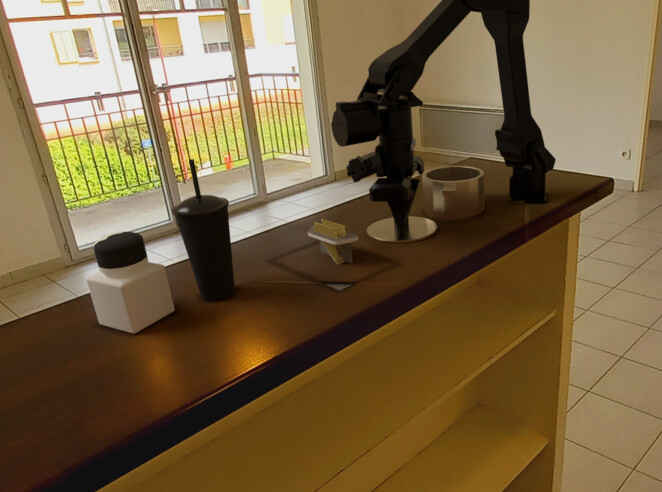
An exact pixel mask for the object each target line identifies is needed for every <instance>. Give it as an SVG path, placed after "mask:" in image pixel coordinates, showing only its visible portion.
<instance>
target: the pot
mask: <svg viewBox="0 0 662 492" xmlns="http://www.w3.org/2000/svg"><path fill="white" fill-rule="evenodd" d="M421 181H422V198H423V212H424V213H425V214H426V215H427V216H429V217H432V218H436V219H442V220H460V219H466V218H472V217H475V216H478V215H480V214H481V213H484V212H485V206H486V205H485V202H486V201H485V171H484V170H482V169H481V168H478V167H475V166H470V165H469V166H467V165H447V166H446V165H445V166H439V167H434V168H431V169H428V170H426V171H424V172H423V174H422V175H421Z"/></svg>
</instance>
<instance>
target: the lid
mask: <svg viewBox="0 0 662 492" xmlns="http://www.w3.org/2000/svg"><path fill="white" fill-rule="evenodd" d="M437 231H438V224H437V223H436V222H435V221H434V220H432V219H430V218H426V217H421V216H410V214H409V215H408V214H407V218H406V221H405V224H404V227H403V228H397V227H396V224H395V221H394V218H393V217H388V218H384V219H381V220H377V221H375V222H373V223H371V224H370V225H369V226H368V227H367V229H366V235H367V237H368V238H369V239H371V240H372V241H375V242H379V243H383V244H384V243H385V244H409V243H415V242H420V241H423V240H426V239H428V238H430V237H433V236H434V235H435V234H436V233H437Z"/></svg>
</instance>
